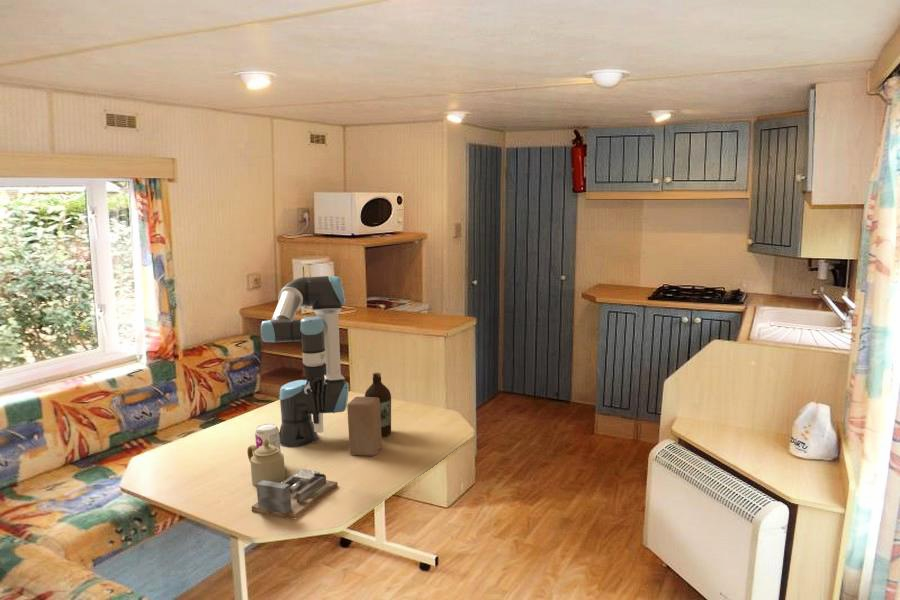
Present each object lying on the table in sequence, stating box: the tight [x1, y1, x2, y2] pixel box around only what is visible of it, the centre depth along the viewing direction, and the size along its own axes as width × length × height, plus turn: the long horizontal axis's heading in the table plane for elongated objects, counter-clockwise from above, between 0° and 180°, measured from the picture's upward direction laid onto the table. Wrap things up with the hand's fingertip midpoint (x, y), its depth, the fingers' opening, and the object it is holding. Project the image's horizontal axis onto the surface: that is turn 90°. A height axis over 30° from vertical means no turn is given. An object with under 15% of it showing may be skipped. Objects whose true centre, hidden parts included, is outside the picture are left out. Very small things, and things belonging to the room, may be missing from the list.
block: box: [346, 396, 383, 457], centre depth 254 cm, size 10×10×20 cm
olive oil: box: [364, 372, 392, 438], centre depth 271 cm, size 11×11×25 cm
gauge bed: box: [251, 470, 339, 520], centre depth 217 cm, size 16×24×10 cm, turn 158°
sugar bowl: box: [247, 439, 286, 487], centre depth 231 cm, size 15×11×15 cm
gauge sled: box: [290, 468, 326, 493], centre depth 219 cm, size 10×11×5 cm
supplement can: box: [254, 423, 282, 453], centre depth 242 cm, size 8×8×15 cm
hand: (318, 431), depth 228 cm, fingers closed
